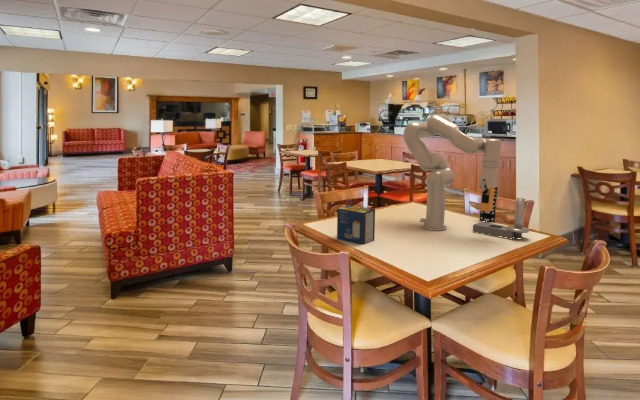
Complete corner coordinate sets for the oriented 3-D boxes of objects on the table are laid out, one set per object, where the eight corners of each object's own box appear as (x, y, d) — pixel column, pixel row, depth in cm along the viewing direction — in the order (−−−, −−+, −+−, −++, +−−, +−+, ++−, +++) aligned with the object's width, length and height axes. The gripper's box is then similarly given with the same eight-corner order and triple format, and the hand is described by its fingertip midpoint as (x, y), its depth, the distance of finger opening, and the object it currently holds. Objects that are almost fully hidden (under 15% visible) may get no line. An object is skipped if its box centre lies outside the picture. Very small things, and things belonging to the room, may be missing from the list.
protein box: (348, 234, 214) (349, 204, 211) (374, 240, 204) (375, 208, 201) (336, 239, 206) (336, 207, 203) (362, 245, 196) (363, 212, 193)
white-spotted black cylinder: (488, 219, 252) (490, 185, 248) (498, 222, 244) (500, 188, 240) (476, 220, 249) (479, 186, 246) (486, 223, 241) (489, 188, 238)
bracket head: (472, 231, 221) (473, 224, 221) (480, 229, 228) (480, 221, 227) (511, 239, 207) (512, 231, 207) (518, 236, 214) (519, 228, 213)
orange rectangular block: (480, 210, 207) (482, 186, 205) (484, 209, 210) (486, 185, 207) (488, 211, 204) (490, 187, 202) (492, 210, 207) (494, 186, 205)
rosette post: (502, 238, 210) (506, 198, 206) (510, 234, 217) (514, 196, 213) (523, 242, 203) (527, 201, 199) (531, 238, 210) (535, 198, 206)
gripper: (490, 163, 211) (487, 199, 215) (474, 165, 200) (471, 203, 203) (505, 164, 206) (501, 201, 209) (490, 166, 194) (486, 205, 198)
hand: (487, 201), depth 206 cm, fingers closed on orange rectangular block, 4 cm apart
